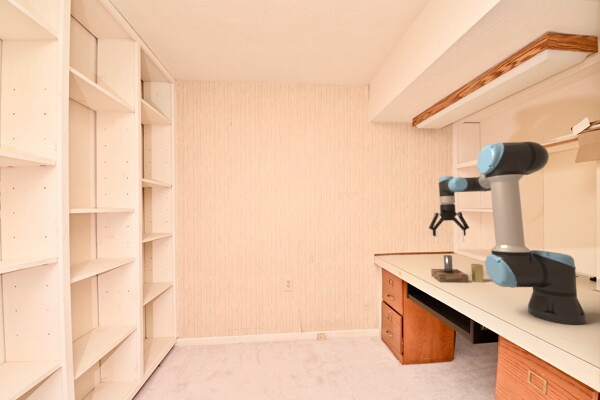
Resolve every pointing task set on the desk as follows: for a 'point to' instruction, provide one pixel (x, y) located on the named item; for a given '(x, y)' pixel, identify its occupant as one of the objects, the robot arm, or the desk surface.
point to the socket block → (449, 276)
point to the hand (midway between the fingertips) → (449, 241)
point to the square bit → (477, 272)
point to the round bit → (448, 264)
